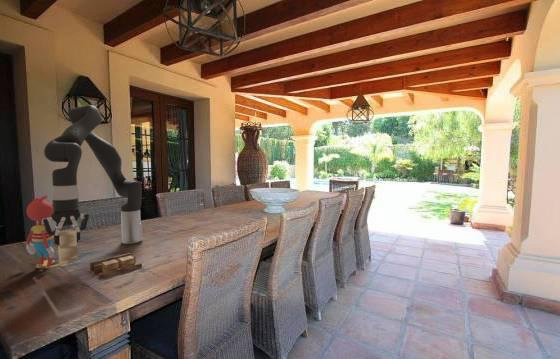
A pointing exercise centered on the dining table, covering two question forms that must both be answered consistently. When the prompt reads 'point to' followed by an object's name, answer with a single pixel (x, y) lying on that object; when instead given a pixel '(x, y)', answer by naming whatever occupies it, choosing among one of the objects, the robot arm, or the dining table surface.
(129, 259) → the offcut
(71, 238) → the long beige rectangular prism
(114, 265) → the offcut
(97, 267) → the rack
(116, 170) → the robot arm
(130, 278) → the dining table surface
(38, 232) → the toy
